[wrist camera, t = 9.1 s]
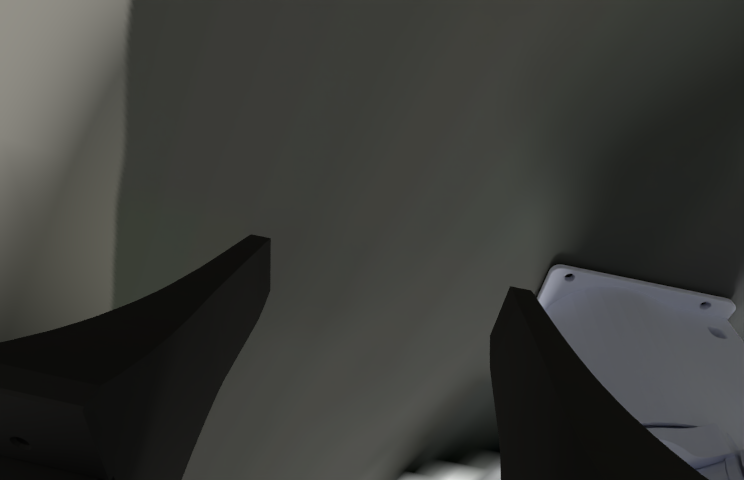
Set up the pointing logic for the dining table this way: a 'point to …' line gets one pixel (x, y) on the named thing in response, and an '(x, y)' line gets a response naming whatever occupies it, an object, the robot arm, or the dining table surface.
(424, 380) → the dining table surface
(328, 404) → the dining table surface
